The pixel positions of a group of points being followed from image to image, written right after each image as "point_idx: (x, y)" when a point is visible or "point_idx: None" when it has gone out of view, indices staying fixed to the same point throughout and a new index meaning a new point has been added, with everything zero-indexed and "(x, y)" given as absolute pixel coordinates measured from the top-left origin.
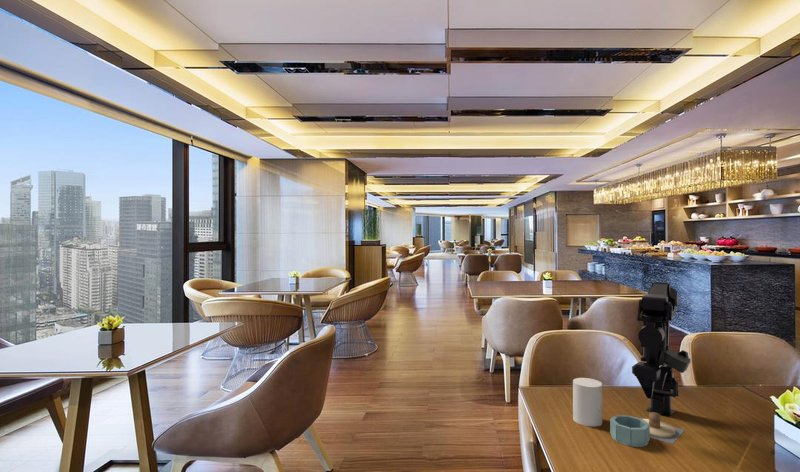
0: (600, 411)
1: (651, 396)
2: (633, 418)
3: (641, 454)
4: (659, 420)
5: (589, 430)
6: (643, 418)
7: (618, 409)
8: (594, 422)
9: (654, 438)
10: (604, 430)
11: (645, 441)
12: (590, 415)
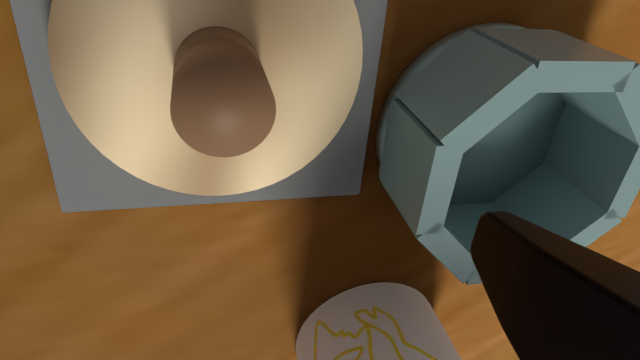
0: (417, 351)
1: (534, 224)
2: (450, 193)
3: (627, 16)
4: (233, 48)
5: (461, 288)
6: (60, 185)
7: (34, 336)
8: (430, 311)
9: (385, 15)
10: (420, 252)
11: (565, 34)
12: (457, 352)
